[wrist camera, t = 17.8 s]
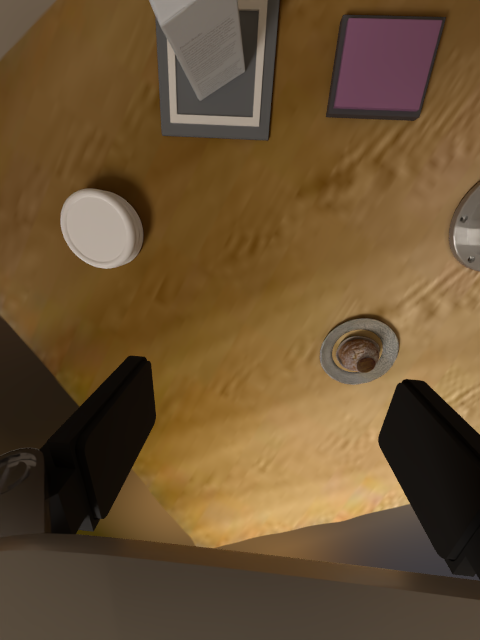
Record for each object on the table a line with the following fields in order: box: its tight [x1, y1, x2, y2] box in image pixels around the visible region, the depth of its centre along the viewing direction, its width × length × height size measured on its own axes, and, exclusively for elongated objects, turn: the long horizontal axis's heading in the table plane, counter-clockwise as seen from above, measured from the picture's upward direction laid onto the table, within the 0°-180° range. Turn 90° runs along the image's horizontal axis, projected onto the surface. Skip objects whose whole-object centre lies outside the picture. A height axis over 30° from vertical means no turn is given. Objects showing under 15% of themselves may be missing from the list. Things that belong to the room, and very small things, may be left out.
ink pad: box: [326, 15, 446, 121], centre depth 26 cm, size 10×8×2 cm
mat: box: [155, 0, 279, 140], centre depth 27 cm, size 13×13×1 cm
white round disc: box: [60, 188, 143, 268], centre depth 34 cm, size 10×10×4 cm
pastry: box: [320, 318, 399, 384], centre depth 38 cm, size 12×12×5 cm
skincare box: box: [149, 0, 245, 101], centre depth 22 cm, size 6×4×12 cm
